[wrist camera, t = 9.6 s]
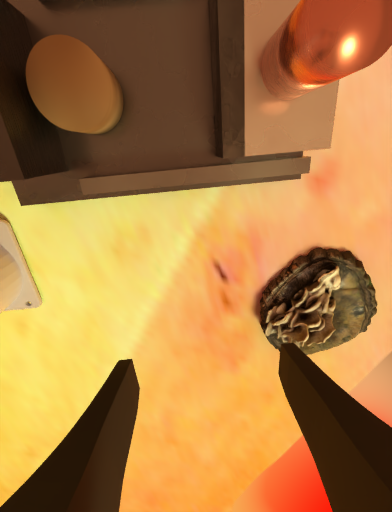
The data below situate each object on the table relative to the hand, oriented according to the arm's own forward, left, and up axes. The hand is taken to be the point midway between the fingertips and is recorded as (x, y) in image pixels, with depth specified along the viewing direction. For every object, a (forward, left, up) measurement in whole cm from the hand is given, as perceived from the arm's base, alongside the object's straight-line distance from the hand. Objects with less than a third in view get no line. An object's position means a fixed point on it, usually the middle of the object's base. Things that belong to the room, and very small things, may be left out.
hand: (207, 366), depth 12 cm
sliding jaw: (+5, +13, -9) cm, 17 cm away
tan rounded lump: (-6, +13, -9) cm, 17 cm away
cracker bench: (-2, +13, -10) cm, 17 cm away
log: (+11, -5, -11) cm, 16 cm away
